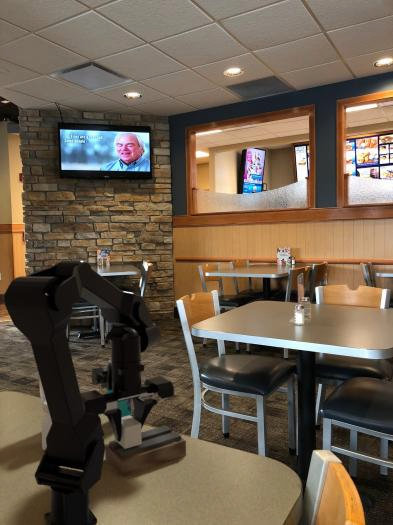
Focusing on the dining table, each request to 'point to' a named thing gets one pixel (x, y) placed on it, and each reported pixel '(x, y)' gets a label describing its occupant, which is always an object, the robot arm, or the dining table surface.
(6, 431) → the dining table surface
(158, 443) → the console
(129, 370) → the robot arm
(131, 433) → the block
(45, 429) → the pepper shaker
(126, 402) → the beverage can
